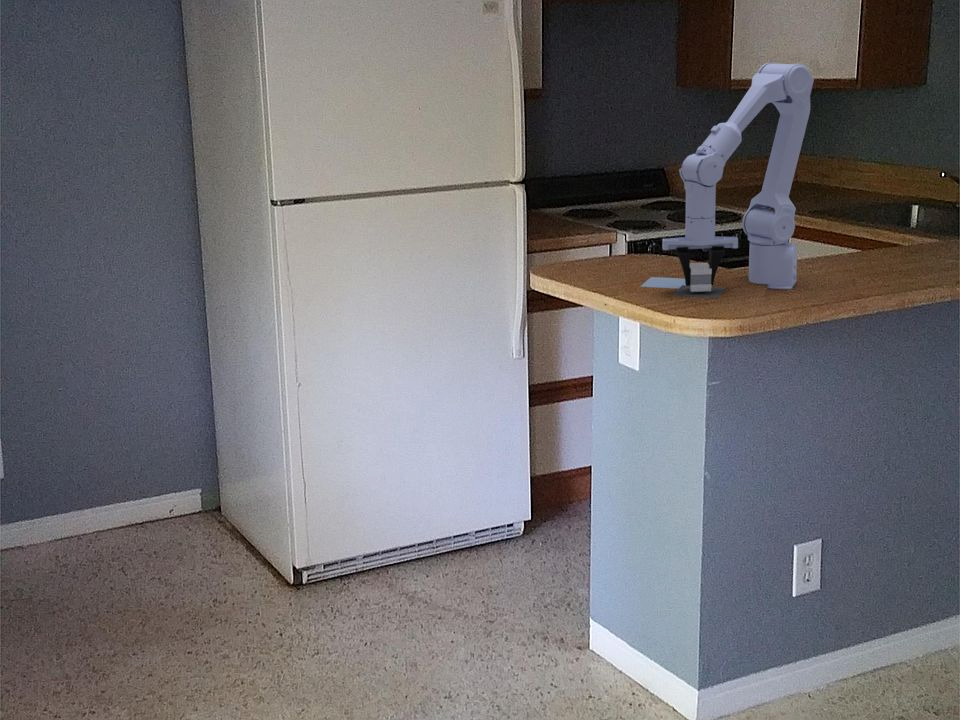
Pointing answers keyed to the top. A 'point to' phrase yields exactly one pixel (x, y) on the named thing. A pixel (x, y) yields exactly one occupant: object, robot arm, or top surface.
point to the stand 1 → (664, 283)
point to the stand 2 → (685, 291)
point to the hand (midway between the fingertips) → (699, 284)
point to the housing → (700, 277)
